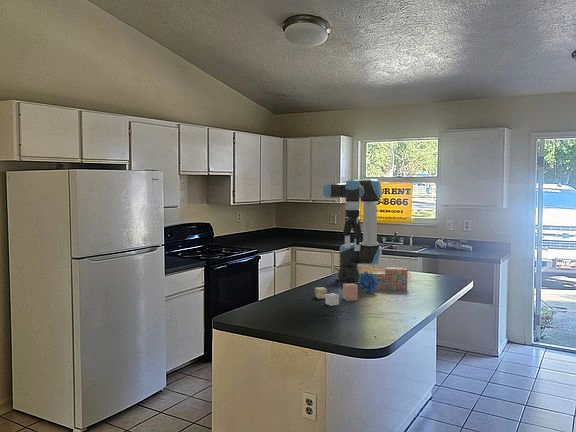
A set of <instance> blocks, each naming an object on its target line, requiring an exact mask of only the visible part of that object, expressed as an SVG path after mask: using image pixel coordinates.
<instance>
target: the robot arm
mask: <svg viewBox="0 0 576 432" xmlns="http://www.w3.org/2000/svg"><path fill="white" fill-rule="evenodd" d="M382 189H383V188H382V184H381V182H380V180H379V179H376V178H375V179H372V178H369V179H360V178H359V179H357V178H356V179H349V180H345V181H342V182H340V183H334V184H333V183H326V184H324V185H323V189H322V195H323V197H324V198H329V199H331V198H333V199H337V198H340V199H341V198H343V199H345V203H344V205H345V210H344V211H345V215H344V216H345V219H344V220H345V222H344V228H343V233H342V234H343V235H344V244H341V245H340V246H339V269H338V271H337V273H336V280H337V281H341V282H357V281H358V279H359V278H360V274H361V273H360V271H359V268H358V265H371V266H372V265H373V266H374V265H379V263H380V262H381V258H382V251H383V247H382V246H380V243H379V241H378V229H377V228H378V227H377V226H378V221H377V220H378V219H377V218H378V217H377V216H378V215H377V213H378V209H377V208H378V207H377V206H378V203H379V202H380V199H382V195H383V194H382V193H383V192H382V191H383V190H382ZM361 203H362V228H361V222H360V219H358V218H360V216H361V215H360V212H361V211H360V208H361V205H360V204H361ZM361 229H362V230H361ZM351 231H353V234H354V242H351ZM361 238H362V242H361Z"/></svg>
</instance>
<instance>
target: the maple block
mask: <svg viewBox="0 0 576 432" xmlns="http://www.w3.org/2000/svg"><path fill="white" fill-rule="evenodd" d="M326 294H328V291H327V288H326V287H324V286H323V287H314V297H315V298H317V299H319V300H320V299H326Z"/></svg>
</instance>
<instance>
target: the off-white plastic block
mask: <svg viewBox="0 0 576 432" xmlns="http://www.w3.org/2000/svg"><path fill="white" fill-rule="evenodd" d="M339 304H340V295H339V294H338V293H333V292H332V293H327V294H326V298H325V305H328V306H337V305H339Z"/></svg>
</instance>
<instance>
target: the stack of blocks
mask: <svg viewBox="0 0 576 432" xmlns="http://www.w3.org/2000/svg"><path fill="white" fill-rule="evenodd" d="M370 273H371V274H373V275H374V278H376V279H377V283H376V284H377V285H378V288H377V289H376V290H384V291H385V290H388V291H389V290H390V291H391V290H393V291H394V290H395V291H408V278H409V276H408V275H409V274H408V269H407V267H389V266H387V267H385V268H384V272H383V271H382V272H380V271H379V272H378V271H376V272H374V271H373V272H372V271H370V272H369V274H370Z"/></svg>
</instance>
